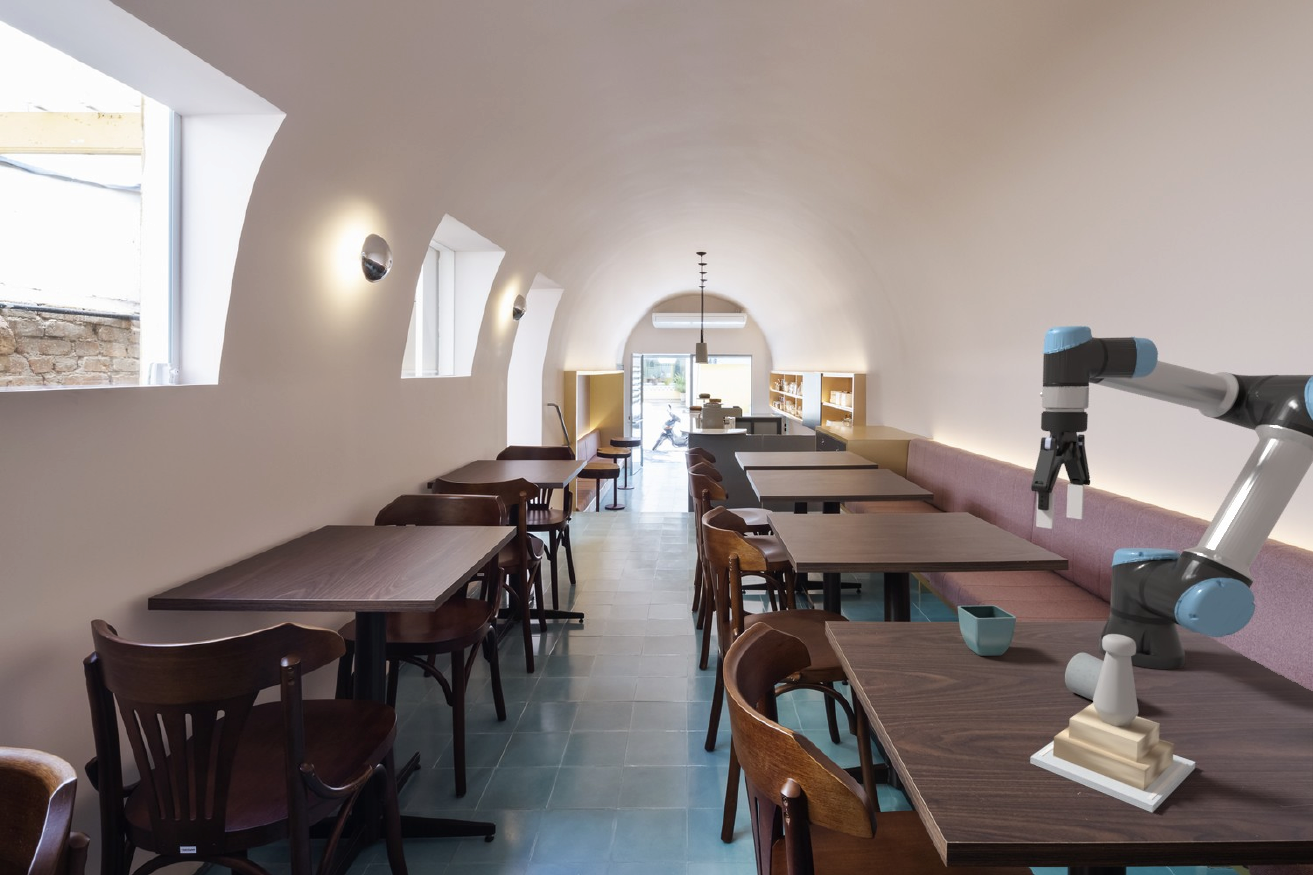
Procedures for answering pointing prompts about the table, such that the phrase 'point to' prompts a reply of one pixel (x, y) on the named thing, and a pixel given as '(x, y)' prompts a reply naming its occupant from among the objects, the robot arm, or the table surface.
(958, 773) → the table surface
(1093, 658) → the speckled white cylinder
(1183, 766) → the board
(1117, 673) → the salt shaker
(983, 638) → the flower pot
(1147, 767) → the birch plinth
